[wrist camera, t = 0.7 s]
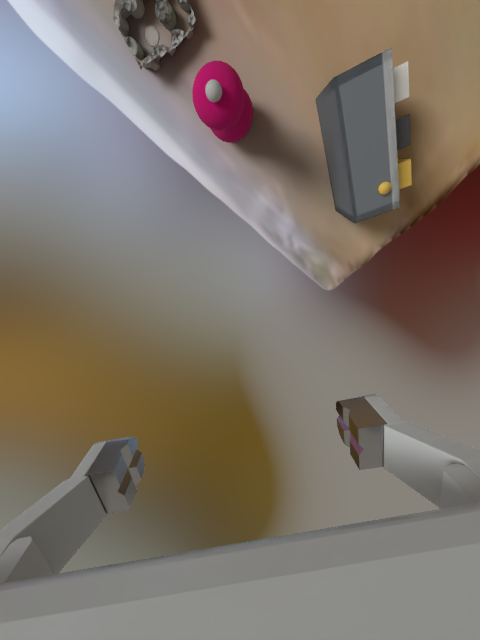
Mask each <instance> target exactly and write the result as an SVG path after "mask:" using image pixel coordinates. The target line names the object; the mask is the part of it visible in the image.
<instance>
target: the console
mask: <svg viewBox="0 0 480 640" xmlns="http://www.w3.org/2000/svg"><path fill="white" fill-rule="evenodd" d="M316 104H317V110H318V115H319V121H320V126H321V132H322V137H323V143H324V148H325V154H326V160H327V165H328V171H329V176H330V182H331V187H332V193H333V198H334V204H335V209H336V211H337V212H339V213H340V214H342V215H343V216H345V217H346V218H348V219H349V220H351V221H352V222H354V223H357V222H360V221H362V220H365V219H368V218H371V217H374V216H376V215H379V214H382V213H385V212H387V211H390V210H393V209H396V208H398V207H400V197H399V178H398V159H397V141H396V122H395V104H394V85H393V66H392V48H389V49H387V50H385V51H384V52H382V53H380V54H378V55H376V56H374V57H372V58H370V59H368V60H366V61H365V62H363V63H361V64H359V65H357V66H355V67H353V68H351V69H349V70H347V71H345V72H344V73H342V74H340V75H338V76H336V77H334V78H333V79H332V80H331V81H330V82H329V84H328V85H327V86H326V87H325V88H324V90H323V91H322V92H321V93H320V94H319V96H318V97H317V98H316Z"/></svg>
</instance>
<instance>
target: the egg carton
mask: <svg viewBox="0 0 480 640" xmlns="http://www.w3.org/2000/svg"><path fill="white" fill-rule="evenodd" d="M177 1H178V3H179V5H180V7H181V8H182V9H183V10H184V11H187V12H188V11H190V10H191V11H192V12H191V14H190V15H189V20H188V21H189V26H190V29H189V30H188V32H186V33H185V32H184V31H182V30H181V29H175V30H174V29H173V28H174V27H175V25H176V13H175V11H174V10H173V8H172V6H171V5H170V3H169V1H167V0H156V6H155V12H156V16H157V18H158V19H159V20H160V22H161V23H162V24H163V26H164V27H165V28H166V29H169V30H171V29H173V30H172V31H171V34H172V38H171V43H172V47H170V48H168V47H166V46H164V45H161V46H160V45H158V46H157V44H158V43H159V32H158V30H157V29H156V27H154V26H153V25H150V26H147V27H146V29H145V39H146V41H147V43H148V44H149V45H150V46H151V47H155V46H157V47H156V48H153V52H152V54H150V55H148V56H147V57H146V58H145V59H144V60H143V57H144V53H143V49H142V47H141V46H140V44H139V43H138V42H137V41H136V40H135V39H133V38H132V37H128V36H127V34H128V30H129V26H128V22H127V18H128V17H129V15H132V16H133V17H134V18H135V19H141V18H142V17H143V15H144V4H143V0H116V1H115V5H114V21H115V23H116V25H117V27H118V28H119V30H120V32H121V34H122V36H123V38H124V39H125V41H126V43H127V45H128V47H129V49H130V51H131V53H132V54H133V56H134V58H135V59H136V61H137V63H138V65H139V67H140V69H141V70H142V67H144V68H145V69H147V68H152V69H153V70H154V71H157V70H158V69H159V68H160V64H159V58H161V57H162V56H163V55H164V54H165V53H166V52H167V53H169V54H170V55H171V56H172V55H173V54H174V52H175V51H176V47H177V45H178V44H179V43H180V42H181V41H182V40H183V39H184V38H185V37H186V38H187V39H190V38H191V37H192V36H193V28H194V27H193V24H194V23H195V21H196V18H195V16H194V12H193V10H192V8H191V6H190V4H189V2H188V0H177Z"/></svg>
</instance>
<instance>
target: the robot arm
mask: <svg viewBox="0 0 480 640" xmlns="http://www.w3.org/2000/svg"><path fill="white" fill-rule="evenodd" d="M336 410H337V412H338V414H339V417H338V418H337V426H338V430H339V434H340V436H341V439H342V440H343V442H344V444H345V445H346V446H348V447H350V454H351V456H352V458H353V459H354V461H355V463H356V464H357V466H358V468H359V470H362V469H370V468H377V467H384V468H385V469H386V470H388V471H389V472H390V473H392V474H393V475H394V476H396V477H397V478H399V479H400V480H401V481H403V482H404V483H406V484H407V485H409V486H410V487H411V488H413V489H414V490H416V491H417V492H418V493H420V494H421V495H422V496H424V497H425V498H427V499H428V500H429V501H431V502H432V503H434V504H435V505H437V506H438V507H439V510H432V511H426V512H421V513H415V514H409V515H403V516H397V517H391V518H385V519H379V520H373V521H367V522H362V523H356V524H349V525H343V526H338V527H332V528H326V529H320V530H314V531H308V532H302V533H296V534H290V535H285V536H279V537H273V538H267V539H261V540H255V541H249V542H243V543H237V544H231V545H225V546H220V547H214V548H208V549H201V550H196V551H190V552H184V553H178V554H172V555H166V556H160V557H154V558H149V559H142V560H136V561H131V562H124V563H119V564H113V565H107V566H101V567H95V568H90V569H83V570H78V571H72V572H65V573H60V574H58V573H59V572H60V571H61V570H62V568H63V567H64V566H65V565H66V564H67V562H68V561H69V560H70V558H72V556H73V555H74V554H75V553H76V552H77V550H78V549H79V548H80V547H81V546H82V544H83V543H84V542H85V541H86V540H87V538H88V537H89V536H90V535H91V534H92V532H93V531H94V530H95V529H96V528H97V526H98V525H99V524H100V523H101V522H102V520H103V519H104V518H105V517H106V516H107V514H109V513H114V512H119V511H124V510H129V509H130V508H131V505H132V503H133V500H134V498H135V495H136V492H137V490H136V487H135V486H136V485H137V484H138V482H139V481H140V480H141V479H142V476H143V473H144V466H145V464H144V457H143V455H142V453H141V452H140V451H138V450H137V447H138V445H139V444H138V441H137V439H136V438H135V437H128V438H121V439H115V440H109V441H102V442H97V443H95V444H94V445H93V446H92V447H91V449H90V450H89V452H88V453H87V455H86V456H85V457H84V459H83V460H82V462H81V463H80V465H79V466H78V468H77V469H76V471H75V472H74V474H73V475H72V477H71V478H70V479H69V480H65V481H64V482H62V483H61V484H60V485H58V486H57V487H56V488H54V489H53V490H52V491H51V492H49V493H48V494H47V495H45V496H44V497H43V498H42V499H40V500H39V501H38V502H36V503H35V504H34V505H33V506H31V507H30V508H29V509H27V510H26V511H25V512H23V513H22V514H21V515H20V516H18V517H17V518H16V519H14V520H13V521H12V522H10V523H9V524H8V525H7V526H5V527H4V528H3V529H1V530H0V640H480V451H479V450H477V449H475V448H472V447H470V446H467V445H465V444H463V443H460V442H458V441H455V440H453V439H450V438H448V437H446V436H443V435H441V434H438V433H436V432H433V431H431V430H428V429H426V428H424V427H421V426H419V425H416V424H414V423H411V422H409V421H404V422H403V421H402V420H401V419H400V418H399V417H398V416H397V415H396V414H395V413H394V412H393V411H392V410H391V409H390V408H389V407H388V406H387V405H386V404H385V403H384V402H383V401H382V400H381V399H380V398H379V397H378V396H377V395H376V394H371V395H367V396H362V397H357V398H353V399H346V400H341V401H337V402H336Z"/></svg>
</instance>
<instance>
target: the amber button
mask: <svg viewBox="0 0 480 640" xmlns="http://www.w3.org/2000/svg"><path fill="white" fill-rule="evenodd" d="M398 178H399V190H400V189H402V188H405V187H408V186H410V185H412V179H411V159H398Z"/></svg>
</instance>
